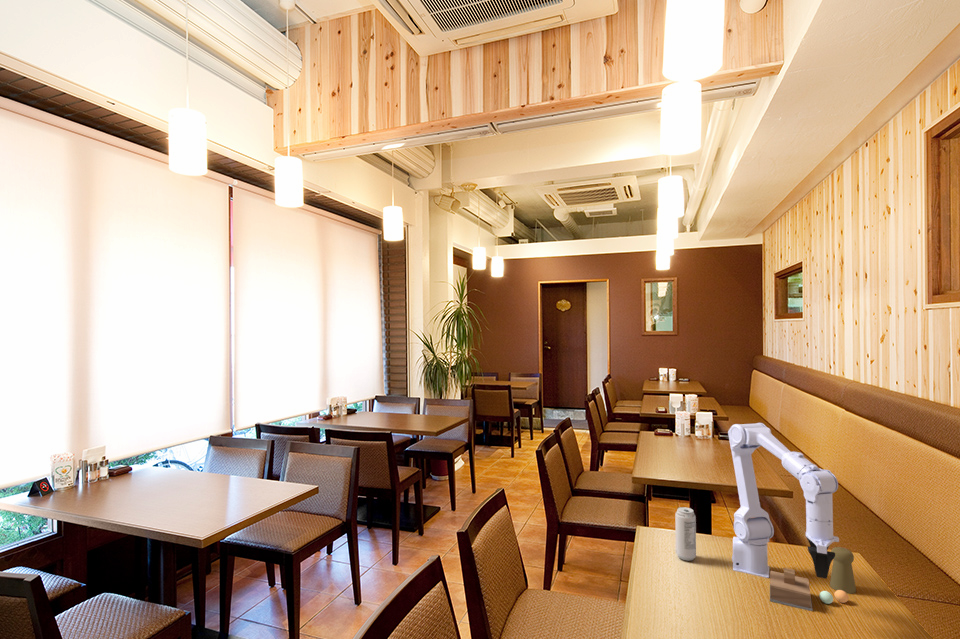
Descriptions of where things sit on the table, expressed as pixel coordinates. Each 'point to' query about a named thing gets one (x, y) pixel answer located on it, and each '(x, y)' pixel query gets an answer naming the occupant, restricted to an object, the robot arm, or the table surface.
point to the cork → (842, 571)
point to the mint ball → (826, 597)
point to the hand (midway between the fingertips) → (820, 570)
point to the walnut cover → (790, 588)
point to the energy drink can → (685, 533)
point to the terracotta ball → (841, 596)
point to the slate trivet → (792, 604)
